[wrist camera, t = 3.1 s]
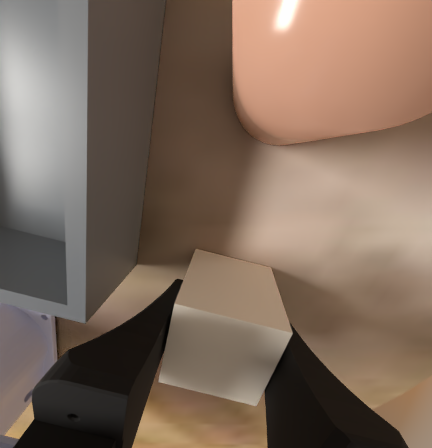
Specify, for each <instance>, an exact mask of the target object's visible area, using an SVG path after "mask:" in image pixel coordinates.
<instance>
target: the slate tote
mask: <svg viewBox="0 0 432 448" xmlns="http://www.w3.org/2000/svg"><path fill="white" fill-rule="evenodd" d="M165 5H166V0H0V303H4V304H8V305H12V306H16V307H20V308H24V309H28V310H32V311H36V312H40V313H44V314H48V315H52V316H57V317H61V318H65V319H69V320H73V321H77V322H81V323H85V324H86V322H87V321H88V320H89V319H90V318H91V317H92V316H93V314H94V313H95V312H96V311H97V310H98V309H99V307H100V306H101V305H102V304H103V303H104V302H105V301H106V299H107V298H108V297H109V296H110V295H111V294H112V292H113V291H114V290H115V289H116V288H117V287H118V286H119V284H120V283H121V282H122V281H123V280H124V279H125V277H126V276H127V275H128V274H129V273H130V272H131V271H132V269H133V268H134V267H135V266H136V264H137V255H138V246H139V237H140V229H141V220H142V211H143V202H144V193H145V184H146V175H147V166H148V157H149V148H150V139H151V130H152V121H153V112H154V103H155V94H156V85H157V76H158V67H159V58H160V49H161V40H162V31H163V23H164V14H165Z"/></svg>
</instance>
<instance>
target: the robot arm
mask: <svg viewBox="0 0 432 448" xmlns="http://www.w3.org/2000/svg"><path fill="white" fill-rule="evenodd" d="M182 283H183V280H181V279H176V280H175V281H174V282H173V283H172V285H171V286H170V287H169V288H168V289H167V290H166V291H165V292H164V293H163V294H162V295H161V296H160V297H158V298H157V299H156V300H155V301H154V302H153V303H151V304H150V305H149V306H148V307H147V308H145V309H144V310H143V311H141V312H140V313H138V314H137V315H136V316H134V317H133V318H131V319H130V320H128V321H126V322H125V323H123V324H122V325H120V326H118V327H116V328H115V329H113V330H111V331H109V332H107V333H105V334H103V335H101V336H99V337H97V338H95V339H93V340H91V341H88V342H86V343H84V344H81V345H79V346H77V347H74V348H72V349H69V350H68V351H67V352H66V353H65V354H64V355H63V356H62V357H61V358H60V359H59V360H57V343H56V327H55V316H52V315H48V314H44V313H40V312H36V311H32V310H28V309H24V308H20V307H16V306H12V305H8V304H4V303H0V448H132V445H133V442H134V439H135V436H136V433H137V430H138V426H139V423H140V420H141V417H142V414H143V411H144V408H145V405H146V402H147V399H148V396H149V393H150V389H151V386H152V383H153V380H154V377H155V374H156V371H157V368H158V366H159V363H160V360H161V358H162V355H163V353H164V351H165V347H166V342H167V337H168V332H169V327H170V322H171V317H172V313H173V308H174V303H175V301H176V298H177V295H178V293H179V290H180V288H181V285H182ZM289 323H290V322H289ZM290 326H291V329H292V332H293V334H292V336H291V338H290V340H289V342H288V344H287V346H286V348H285V350H284V352H283V354H282V356H281V358H280V360H279V362H278V364H277V366H276V368H275V370H274V372H273V374H272V376H271V378H270V380H269V382H268V384H267V386H266V388H265V390H264V391H265V404H266V421H267V443H268V448H408V446H407V444H406V443H405V441H404V439H403V438H402V436H401V434H400V433H399V431H398V430H397V429H395V428H394V427H393V426H391V425H390V424H389V423H388V422H387V421H385V420H384V419H383V418H382V417H380V416H379V415H378V414H376V413H375V412H374V411H373V410H372V409H370V408H369V407H368V406H367V405H366V404H365V403H363V402H362V401H361V400H360V399H359V398H358V397H357V396H355V395H354V394H353V393H352V392H351V391H350V390H349V389H348V388H347V387H346V386H345V385H343V384H342V383H341V382H340V381H339V380H338V379H337V378H336V377H335V376H334V375H333V374H332V373H331V372H330V371H329V370H328V369H327V368H326V366H325V365H324V364H323V363H322V362H321V361H320V360H319V359H318V358H317V357H316V355H315V354H314V353H313V352H312V351H311V350H310V348H309V347H308V346H307V345H306V343H305V342H304V341H303V340H302V338H301V337H300V336H299V334H298V333H297V332H296V330H295V329H294V328H293V326H292V325H291V323H290ZM31 402H32V404H33V412H34V420H33V422H32V423H31V424H30V426H29V427H28V428H27V430H26V431H25V432H24V434H23V435H22V436H21V438H20V439H16V438H12V437H8V436H4V435H5V434H6V433H7V431H8V430H9V429H10V428H11V426H12V425H13V424H14V423H15V422H16V420H17V419H18V418H19V417H20V415H21V414H22V413H23V412H24V410H25V409H26V408H27V407H28V405H29V404H30V403H31Z"/></svg>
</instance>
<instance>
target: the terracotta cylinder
mask: <svg viewBox="0 0 432 448" xmlns="http://www.w3.org/2000/svg"><path fill="white" fill-rule="evenodd" d="M232 28H233V103H234V108H235V111H236V115H237V117H238V119H239V121H240V123H241V124H242V126H243V127H244V129H245V130H246V131H247V132H248V133H249V134H250V135H251V136H252V137H254V138H255V139H257V140H259V141H261V142H263V143H266V144H270V145H280V146H281V145H289V144H296V143H302V142H308V141H315V140H321V139H327V138H334V137H340V136H346V135H353V134H359V133H365V132H372V131H378V130H383V129H387V128H392V127H396V126H400V125H403V124H405V123H408V122H411V121H414V120H417V119H419V118H421V117H423V116H425V115H427V114H429V113H432V0H232Z"/></svg>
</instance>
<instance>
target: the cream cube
mask: <svg viewBox="0 0 432 448" xmlns="http://www.w3.org/2000/svg"><path fill="white" fill-rule="evenodd" d="M292 334H293V332H292V329H291V326H290V323H289V320H288V317H287V314H286V311H285V308H284V305H283V302H282V299H281V296H280V293H279V290H278V287H277V284H276V281H275V278H274V275H273V272H272V269H271V267H267V266H263V265H259V264H255V263H251V262H247V261H243V260H239V259H235V258H231V257H227V256H223V255H219V254H215V253H211V252H207V251H203V250H199V249H195V252H194V254H193V257H192V260H191V262H190V265H189V267H188V270H187V272H186V275H185V278H184V280H183V283H182V285H181V288H180V290H179V293H178V295H177V298H176V301H175V303H174V308H173V313H172V317H171V322H170V327H169V332H168V337H167V342H166V347H165V351H164V356H163V361H162V366H161V371H160V376H159V381H158V382H160V383H164V384H168V385H173V386H177V387H181V388H185V389H189V390H193V391H197V392H201V393H205V394H209V395H213V396H217V397H221V398H225V399H229V400H233V401H237V402H241V403H245V404H249V405H253V406H257V404H258V402H259V400H260V398H261V396H262V394H263V392H264V390H265V388H266V386H267V384H268V382H269V380H270V378H271V376H272V374H273V372H274V370H275V368H276V366H277V364H278V362H279V360H280V358H281V356H282V354H283V352H284V350H285V348H286V346H287V344H288V342H289V340H290V338H291V336H292Z"/></svg>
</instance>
